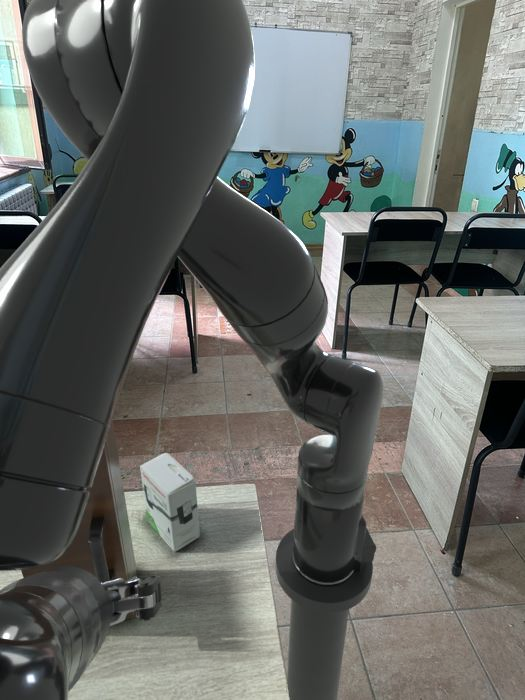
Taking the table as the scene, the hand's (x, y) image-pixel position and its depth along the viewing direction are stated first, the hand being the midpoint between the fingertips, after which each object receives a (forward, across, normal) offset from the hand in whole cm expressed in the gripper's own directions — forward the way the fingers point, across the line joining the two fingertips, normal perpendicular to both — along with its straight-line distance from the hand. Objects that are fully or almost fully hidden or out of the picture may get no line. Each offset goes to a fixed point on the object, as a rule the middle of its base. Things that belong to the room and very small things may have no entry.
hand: (89, 595), depth 47 cm
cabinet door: (+18, +4, +7) cm, 19 cm away
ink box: (+29, -7, -4) cm, 30 cm away
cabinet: (+22, +4, +3) cm, 22 cm away
